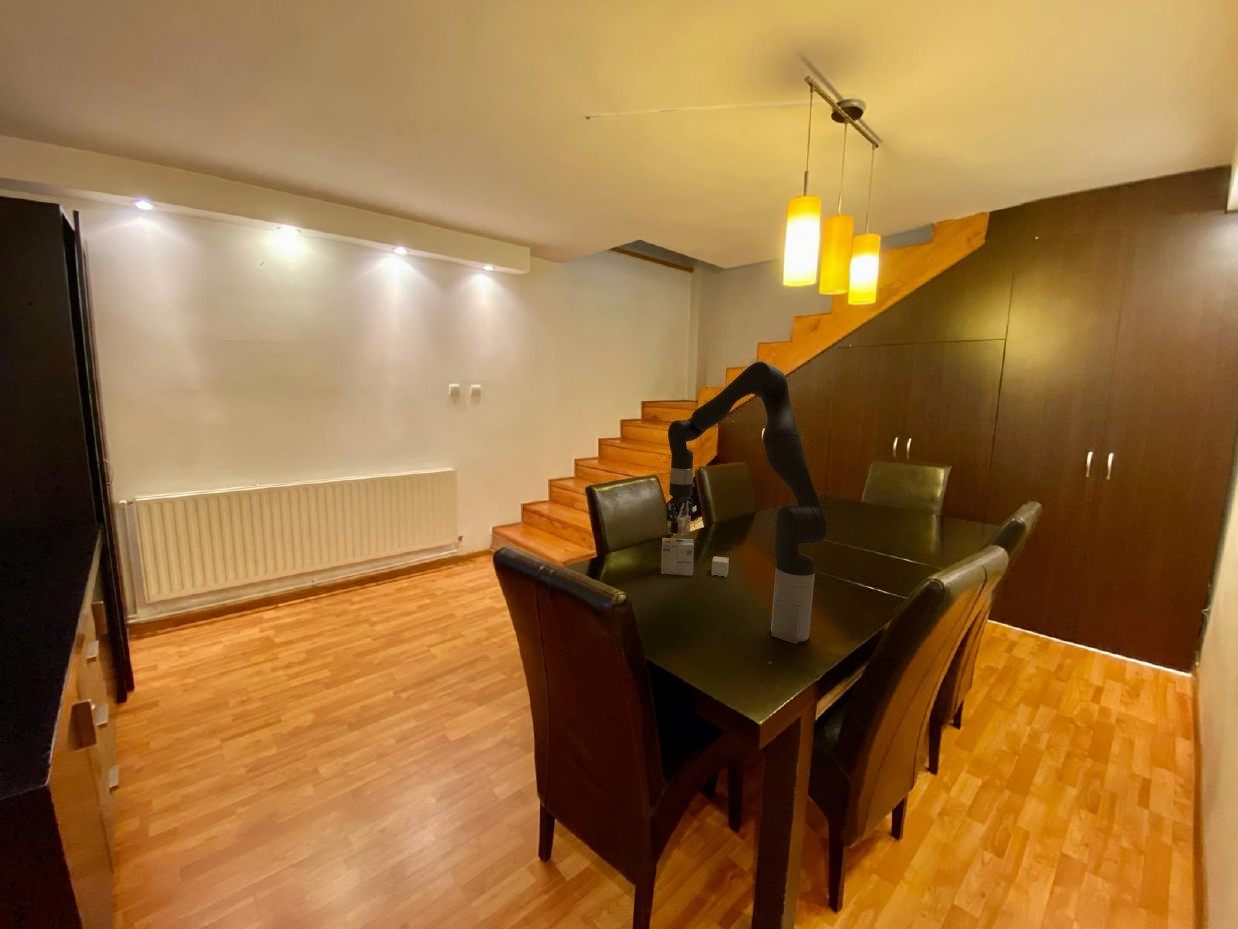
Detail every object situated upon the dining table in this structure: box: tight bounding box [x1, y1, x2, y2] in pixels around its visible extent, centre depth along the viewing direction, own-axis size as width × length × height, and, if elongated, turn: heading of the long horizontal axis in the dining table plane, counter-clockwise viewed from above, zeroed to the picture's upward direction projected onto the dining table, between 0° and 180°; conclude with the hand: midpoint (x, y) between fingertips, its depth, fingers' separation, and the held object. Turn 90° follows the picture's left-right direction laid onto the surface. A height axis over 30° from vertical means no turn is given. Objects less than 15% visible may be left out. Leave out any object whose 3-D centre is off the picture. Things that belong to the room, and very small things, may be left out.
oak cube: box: [666, 515, 692, 537], centre depth 165 cm, size 6×6×6 cm
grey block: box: [711, 556, 730, 578], centre depth 166 cm, size 5×5×5 cm
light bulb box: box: [660, 537, 695, 577], centre depth 166 cm, size 11×7×11 cm, turn 84°
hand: (678, 530), depth 165 cm, fingers closed on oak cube, 5 cm apart
